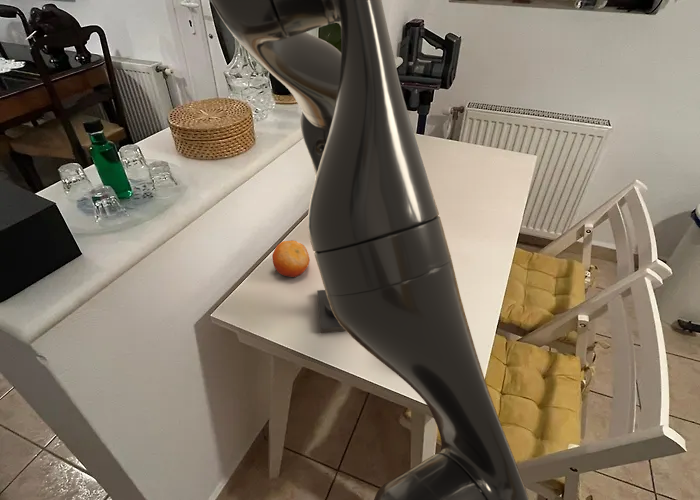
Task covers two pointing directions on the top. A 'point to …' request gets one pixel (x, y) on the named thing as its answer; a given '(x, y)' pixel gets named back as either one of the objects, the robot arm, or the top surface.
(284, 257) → the fruit
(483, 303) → the top surface
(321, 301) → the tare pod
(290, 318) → the top surface
